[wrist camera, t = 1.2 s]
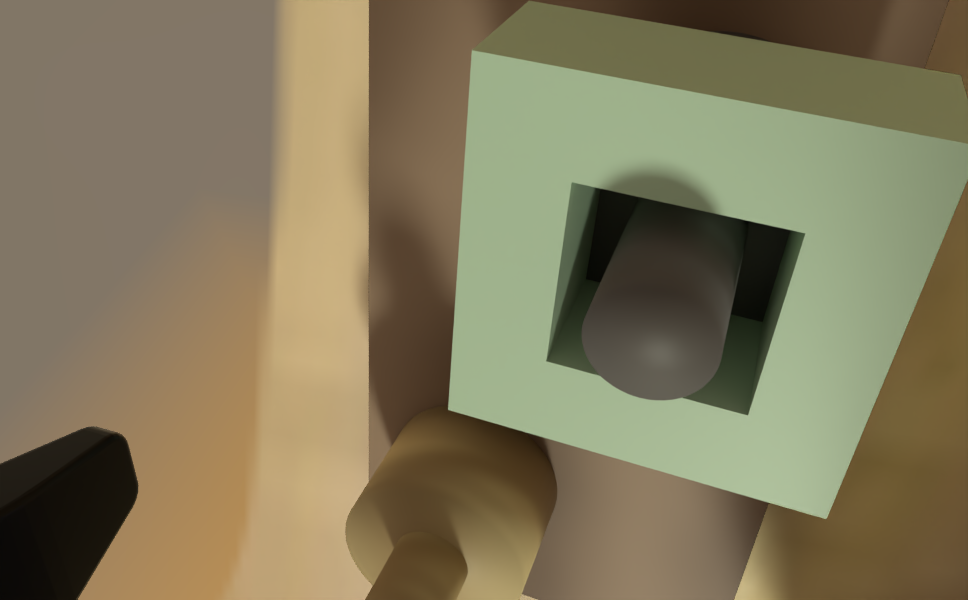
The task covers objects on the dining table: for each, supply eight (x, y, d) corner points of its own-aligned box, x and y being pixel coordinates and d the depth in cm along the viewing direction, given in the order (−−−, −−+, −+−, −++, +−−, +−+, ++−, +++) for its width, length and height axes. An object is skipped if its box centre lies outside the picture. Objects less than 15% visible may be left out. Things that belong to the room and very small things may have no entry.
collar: (960, 75, 12) (981, 146, 10) (830, 415, 15) (826, 519, 13) (528, 0, 13) (472, 49, 11) (496, 328, 17) (447, 410, 15)
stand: (961, -64, 15) (1034, 89, 9) (717, 627, 25) (674, 916, 19) (392, -143, 17) (139, -66, 11) (383, 518, 27) (249, 745, 21)
